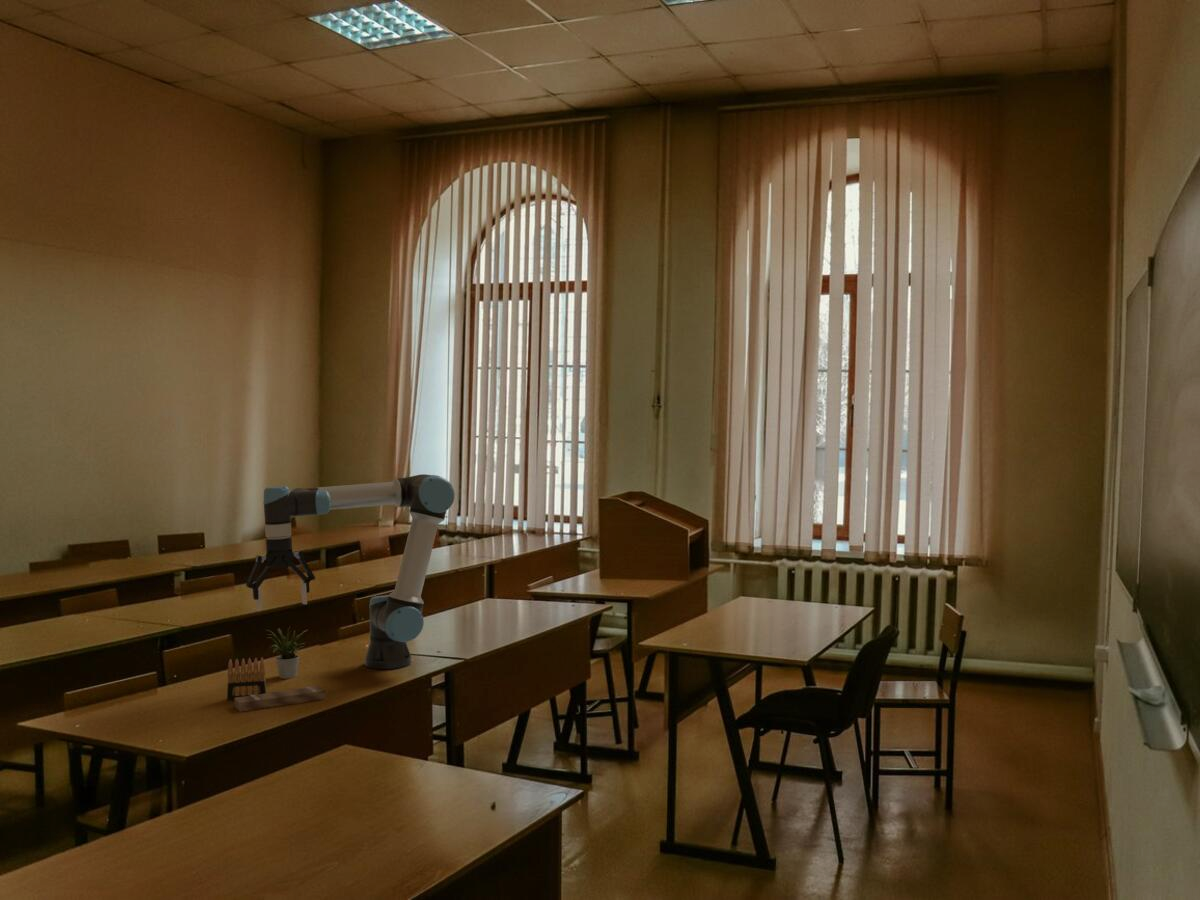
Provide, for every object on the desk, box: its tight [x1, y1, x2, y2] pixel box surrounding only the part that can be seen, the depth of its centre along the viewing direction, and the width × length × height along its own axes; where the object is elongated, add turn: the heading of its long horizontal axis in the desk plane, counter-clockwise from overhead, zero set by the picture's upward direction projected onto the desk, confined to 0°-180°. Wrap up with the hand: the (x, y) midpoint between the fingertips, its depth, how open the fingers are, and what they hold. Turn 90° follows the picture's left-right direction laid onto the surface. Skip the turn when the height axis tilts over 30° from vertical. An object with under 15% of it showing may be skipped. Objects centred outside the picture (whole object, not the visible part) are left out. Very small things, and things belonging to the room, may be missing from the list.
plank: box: [233, 685, 326, 713], centre depth 295 cm, size 24×6×3 cm, turn 122°
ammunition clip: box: [226, 656, 267, 701], centre depth 300 cm, size 11×2×12 cm, turn 103°
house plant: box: [265, 626, 309, 680], centre depth 325 cm, size 14×14×16 cm
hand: (282, 607), depth 312 cm, fingers open, 13 cm apart
